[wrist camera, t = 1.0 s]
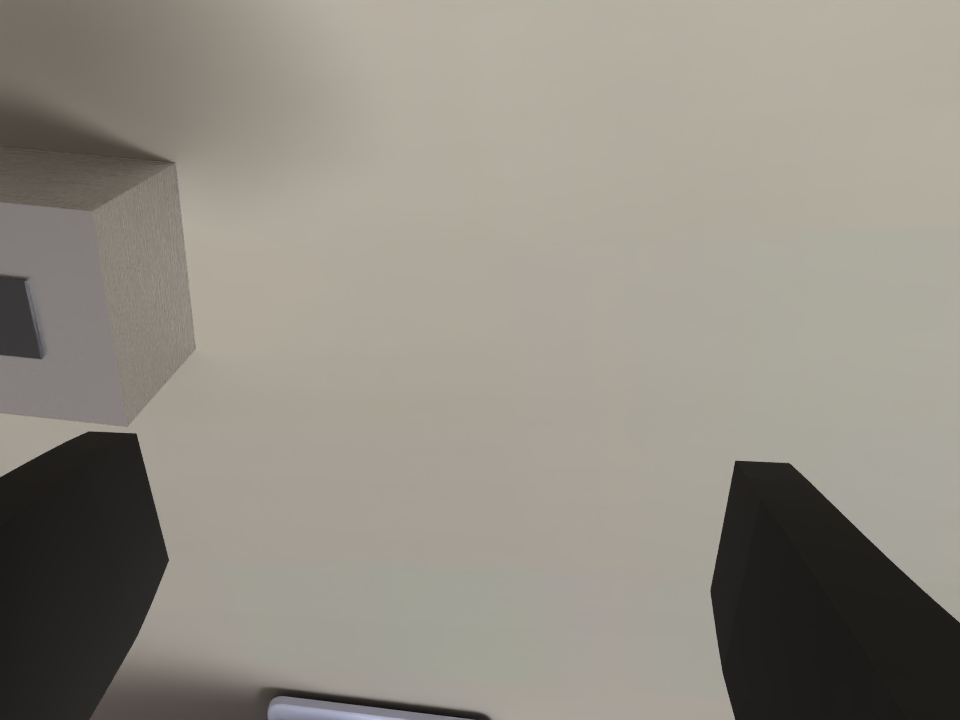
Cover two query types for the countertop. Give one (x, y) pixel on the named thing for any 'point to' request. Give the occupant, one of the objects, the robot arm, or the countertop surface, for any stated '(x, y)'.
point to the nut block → (89, 285)
